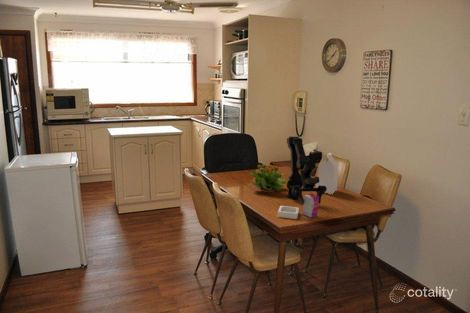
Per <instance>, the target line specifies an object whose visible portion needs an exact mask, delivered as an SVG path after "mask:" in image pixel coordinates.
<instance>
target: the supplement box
mask: <svg viewBox="0 0 470 313" xmlns="http://www.w3.org/2000/svg"><path fill="white" fill-rule="evenodd" d="M303 200H304V204H303V208H302V216H305V217H307V218H309V219H311V218H314V217H318V211H319V210H318V209H319V196H317V194H313V193H310V194H305V195H304V197H303Z"/></svg>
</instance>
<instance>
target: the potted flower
mask: <svg viewBox="0 0 470 313" xmlns="http://www.w3.org/2000/svg"><path fill="white" fill-rule="evenodd" d="M257 169H258V171H259V172H255V171H254V172H253V171H252V172H251V171H250V172H249V175H250V176H252V177H254V181H255V182H254V181H252V180H251V181H250V183H251V184H253V186H255V187H256V188H259V189H260V191H261V192H263V193H264V192H265V193H273V192H275V190H276V191H281V190H283V188H284V187H285V186H284V185H285V184H287V180H286V179H285V178H282V176H284V175H285V174H284V173H277V172H278V170H279V167H278V166H277V165H272V164H271V165H267V166H266V164H265V163H263V164H262V165H260V164H258V165H257ZM283 184H284V185H283Z"/></svg>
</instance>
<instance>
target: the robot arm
mask: <svg viewBox="0 0 470 313" xmlns="http://www.w3.org/2000/svg"><path fill="white" fill-rule="evenodd" d="M286 144H287V147H288V149H289V151H290V167H291V168H290V171H291V173H290V175H289V177H288V181H286V188H287V189H288V192H287V193H288V194H287V195H286V198H288V199H293V200H297V199H298V200H299V201H300V202H301V204H302V205H304V197H303V194H302V193H303V192H315V191H316V192H315V193H316V196H319V203H318V205H320V204H321V202H322V201H321V200H322V195H324V194H325V192H326V190H327V188H326V186H318V188H316V184H317V183H319V177H317V176H315V177H313V176H312V174H313V173H314V171H315V169H316V167H317V164H316V163H315V162H314V161H313V160H312V159H310V158H309V157H308V156H307V155H306V151H305V148H304V144H303V137H302V138H301V137H300V136H288V137H287V138H286Z"/></svg>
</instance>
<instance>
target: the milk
mask: <svg viewBox="0 0 470 313" xmlns="http://www.w3.org/2000/svg"><path fill="white" fill-rule="evenodd" d="M317 168H318V169H317V175H316V177H319V183H317V184H315V188H318V186H326V188H327V190H326V192H325V193H328V194H327V195H331V194H332V195H333V193H334V192H335V191H336V190H337V191H338V179H339V163H338V162H337V160H336V159H335V158H334V157H333V154H332V152H329V153H327V154H326V158H324V160H323V161H322V162H320V163H319V164H318V167H317ZM337 191H336V192H337ZM314 192H315V193H317V192H316V191H314ZM336 192H335V193H336ZM325 193H324V194H325ZM335 193H334V194H335Z"/></svg>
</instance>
